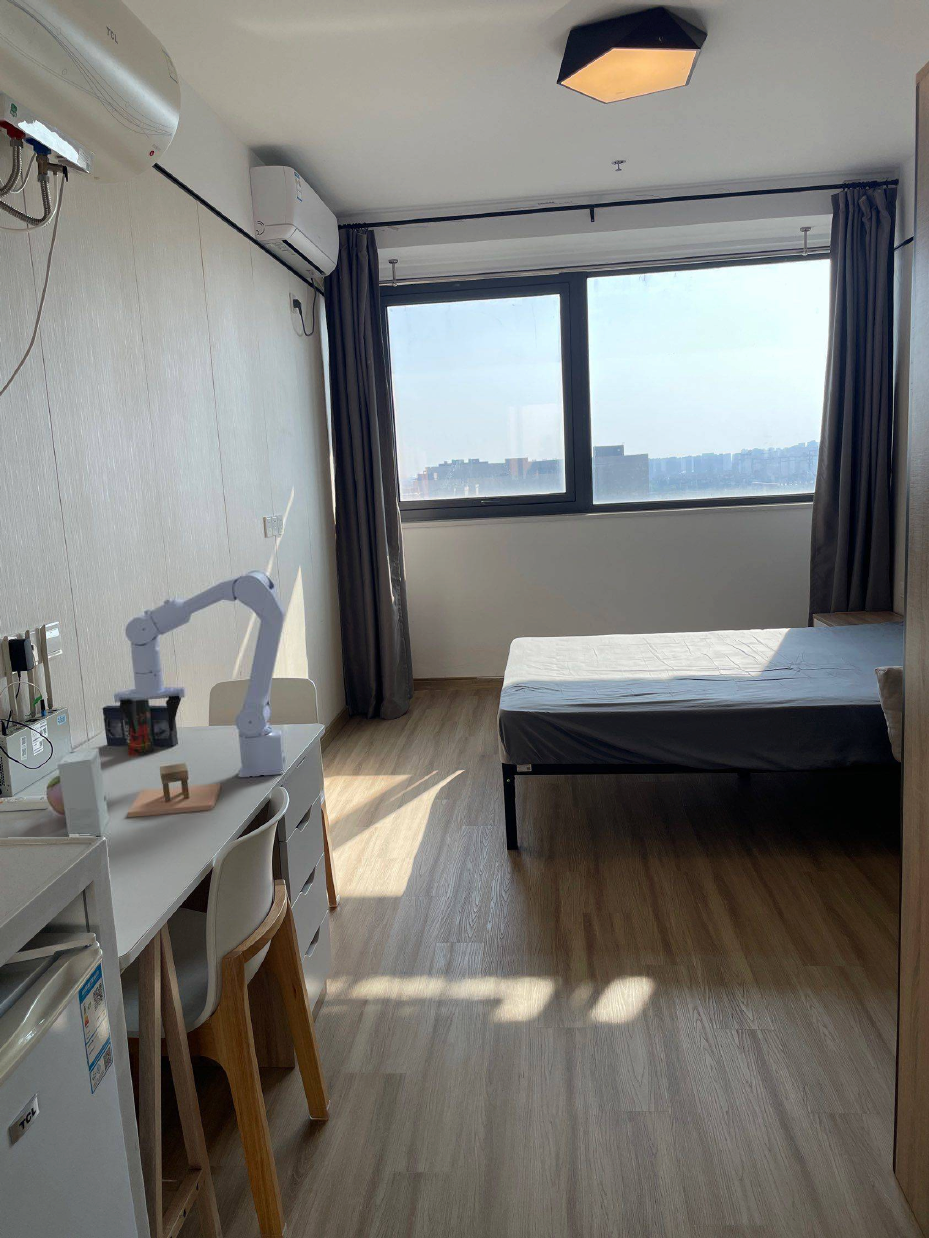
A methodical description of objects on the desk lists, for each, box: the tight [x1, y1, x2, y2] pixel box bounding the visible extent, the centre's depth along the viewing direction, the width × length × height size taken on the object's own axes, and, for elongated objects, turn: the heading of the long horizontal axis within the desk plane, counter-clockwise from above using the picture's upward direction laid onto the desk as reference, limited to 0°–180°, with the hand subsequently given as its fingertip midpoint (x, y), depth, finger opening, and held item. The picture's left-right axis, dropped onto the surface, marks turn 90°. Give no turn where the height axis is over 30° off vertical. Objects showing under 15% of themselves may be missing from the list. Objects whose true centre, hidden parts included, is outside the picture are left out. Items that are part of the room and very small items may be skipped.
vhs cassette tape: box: [102, 705, 179, 748], centre depth 215 cm, size 18×3×10 cm, turn 77°
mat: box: [127, 783, 222, 818], centre depth 176 cm, size 16×12×1 cm
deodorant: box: [123, 688, 155, 757], centre depth 209 cm, size 6×6×15 cm
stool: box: [159, 762, 189, 803], centre depth 176 cm, size 5×5×6 cm
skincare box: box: [57, 748, 110, 837], centre depth 162 cm, size 8×6×15 cm
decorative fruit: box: [45, 775, 66, 817], centre depth 170 cm, size 9×8×10 cm
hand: (154, 731), depth 190 cm, fingers open, 7 cm apart
